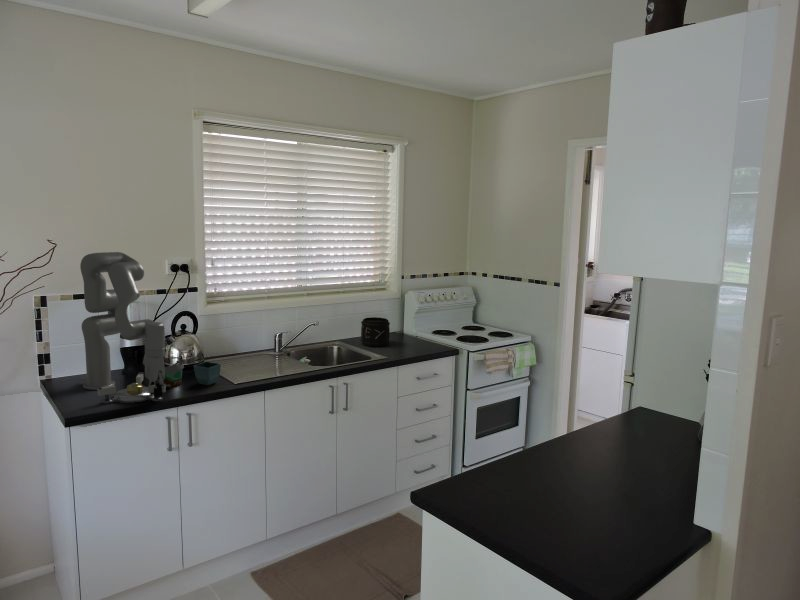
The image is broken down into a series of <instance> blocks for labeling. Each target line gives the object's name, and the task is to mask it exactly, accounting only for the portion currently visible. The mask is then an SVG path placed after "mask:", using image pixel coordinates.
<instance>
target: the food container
mask: <svg viewBox="0 0 800 600" xmlns="http://www.w3.org/2000/svg"><path fill="white" fill-rule="evenodd" d="M164 368H165V379H164V380H163V382H164V383H163V384H165V385H166V389H173V388H172V387H175V388H178V387H177V386H179V387H180V385H181V386H182V384H183V383H182V381H183V379H182V378H183V369H184V368H185V366H184V363H183V361H181V360H176V362H174V363H171V364H169V365H167V366H164Z"/></svg>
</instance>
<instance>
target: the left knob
mask: <svg viewBox="0 0 800 600" xmlns="http://www.w3.org/2000/svg"><path fill="white" fill-rule="evenodd" d="M143 381H144V372H138V373H137V375H136V377H135V383H138V384H142V385H143V383H142V382H143Z"/></svg>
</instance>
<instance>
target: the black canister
mask: <svg viewBox="0 0 800 600" xmlns="http://www.w3.org/2000/svg"><path fill="white" fill-rule="evenodd" d="M360 323H361V329H360V337H361V338H360V342H361V344H362V345H363V346H364V347H366V348H367V347H368V348H384V347H387V346H389V343H390V331H391V330H390V324H391V322H390V321H389V319H387V318H385V317H378V316H377V317H374V316H373V317H365V318H363V319H362V321H361V322H360Z"/></svg>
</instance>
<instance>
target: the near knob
mask: <svg viewBox="0 0 800 600" xmlns="http://www.w3.org/2000/svg"><path fill="white" fill-rule="evenodd" d="M96 391H97V396H99V397H102V396H104V399H105V400H109V398H110V395H112V394H113V395H114V393H116V392H117V387H116V385H113V386H108V387H102V388H101V387H98V388H97V390H96Z"/></svg>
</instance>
